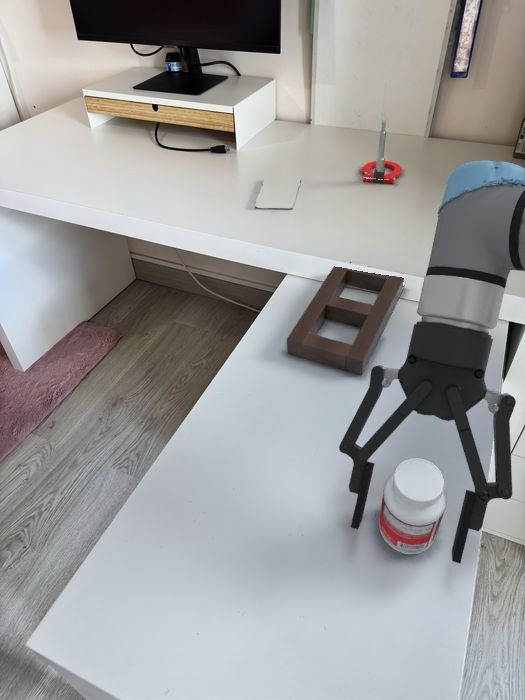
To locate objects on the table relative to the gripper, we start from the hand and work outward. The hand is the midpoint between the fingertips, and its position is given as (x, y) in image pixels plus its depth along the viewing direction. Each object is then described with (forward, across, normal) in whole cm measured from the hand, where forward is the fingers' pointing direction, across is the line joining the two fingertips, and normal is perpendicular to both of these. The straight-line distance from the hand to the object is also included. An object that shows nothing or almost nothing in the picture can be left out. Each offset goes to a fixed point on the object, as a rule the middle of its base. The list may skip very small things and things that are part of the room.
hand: (404, 540), depth 52 cm
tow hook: (-55, +21, -61) cm, 85 cm away
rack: (-22, +15, -27) cm, 38 cm away
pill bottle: (+1, 0, -5) cm, 5 cm away
